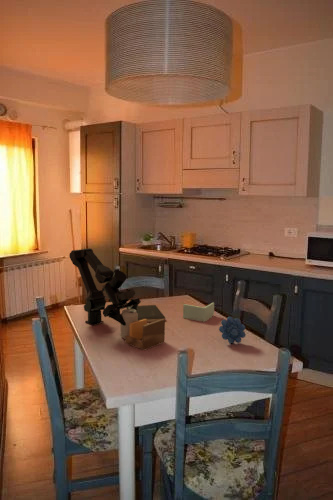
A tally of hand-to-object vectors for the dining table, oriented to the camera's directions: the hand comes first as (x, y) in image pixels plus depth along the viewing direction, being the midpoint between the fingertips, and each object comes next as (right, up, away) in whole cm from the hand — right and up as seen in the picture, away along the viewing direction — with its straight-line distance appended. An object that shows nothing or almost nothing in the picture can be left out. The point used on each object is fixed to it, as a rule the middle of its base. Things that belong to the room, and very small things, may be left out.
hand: (131, 323), depth 179 cm
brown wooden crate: (+6, -7, -4) cm, 10 cm away
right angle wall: (+32, -3, +33) cm, 46 cm away
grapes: (+43, -8, -4) cm, 44 cm away
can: (-1, -7, +2) cm, 7 cm away
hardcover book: (+4, -3, +34) cm, 34 cm away
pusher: (+3, -7, -1) cm, 7 cm away
